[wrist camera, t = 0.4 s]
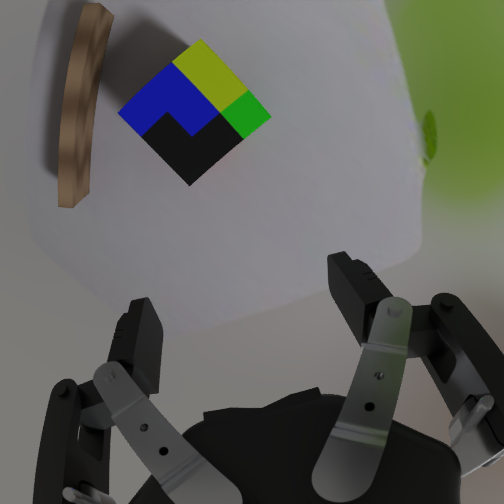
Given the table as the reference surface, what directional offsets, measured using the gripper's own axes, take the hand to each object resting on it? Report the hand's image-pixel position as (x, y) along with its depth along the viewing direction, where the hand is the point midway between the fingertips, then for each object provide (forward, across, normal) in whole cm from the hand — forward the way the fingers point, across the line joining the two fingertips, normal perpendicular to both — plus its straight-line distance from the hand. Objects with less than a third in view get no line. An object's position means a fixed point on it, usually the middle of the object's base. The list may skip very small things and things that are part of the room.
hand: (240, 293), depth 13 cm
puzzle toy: (+28, +1, -7) cm, 28 cm away
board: (+27, +14, -12) cm, 33 cm away
